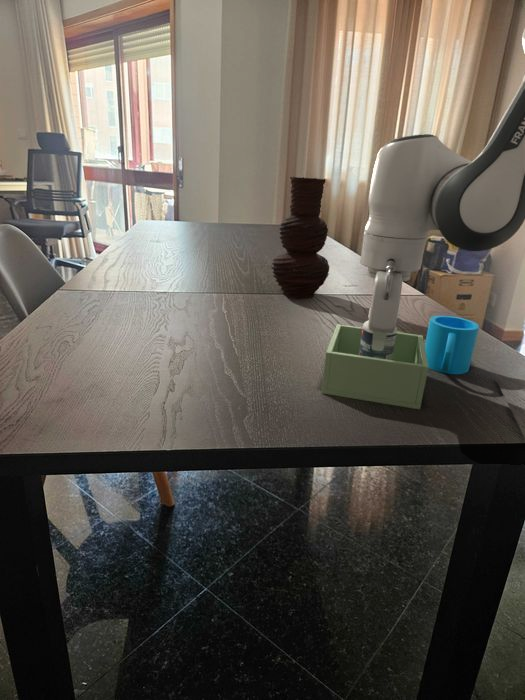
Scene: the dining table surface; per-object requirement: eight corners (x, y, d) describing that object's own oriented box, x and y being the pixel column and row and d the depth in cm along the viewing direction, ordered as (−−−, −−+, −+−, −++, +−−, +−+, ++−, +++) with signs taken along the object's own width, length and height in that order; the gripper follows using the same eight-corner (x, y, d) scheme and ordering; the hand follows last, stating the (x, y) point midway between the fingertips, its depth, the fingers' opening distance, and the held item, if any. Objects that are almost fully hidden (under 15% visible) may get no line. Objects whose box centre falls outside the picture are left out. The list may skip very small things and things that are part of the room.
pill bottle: (353, 356, 78) (360, 305, 74) (384, 356, 78) (392, 305, 75) (363, 369, 73) (371, 314, 70) (395, 369, 73) (405, 315, 70)
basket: (415, 371, 82) (422, 335, 79) (420, 409, 69) (428, 367, 66) (332, 359, 85) (336, 324, 83) (321, 393, 72) (326, 352, 69)
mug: (423, 353, 91) (431, 313, 88) (468, 361, 88) (478, 320, 85) (417, 376, 80) (426, 331, 77) (468, 386, 77) (479, 340, 74)
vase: (275, 285, 136) (282, 175, 125) (328, 291, 133) (340, 179, 122) (264, 298, 122) (272, 176, 111) (323, 305, 119) (337, 180, 108)
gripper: (416, 269, 59) (399, 369, 64) (411, 247, 78) (397, 326, 83) (366, 264, 61) (352, 362, 66) (372, 243, 79) (361, 321, 84)
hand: (377, 342), depth 74 cm, fingers closed on pill bottle, 5 cm apart
